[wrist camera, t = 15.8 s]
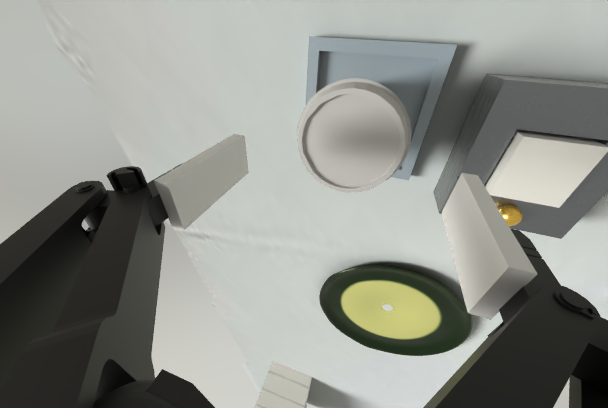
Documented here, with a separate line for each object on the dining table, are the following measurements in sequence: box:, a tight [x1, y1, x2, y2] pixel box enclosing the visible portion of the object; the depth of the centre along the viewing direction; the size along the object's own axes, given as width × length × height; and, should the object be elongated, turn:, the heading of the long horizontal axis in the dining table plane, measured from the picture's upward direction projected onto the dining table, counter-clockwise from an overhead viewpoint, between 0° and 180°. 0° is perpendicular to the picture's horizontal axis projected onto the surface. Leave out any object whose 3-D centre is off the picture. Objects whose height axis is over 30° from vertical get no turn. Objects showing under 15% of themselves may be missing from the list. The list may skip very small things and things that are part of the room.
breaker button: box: [484, 129, 608, 208], centre depth 23 cm, size 6×6×6 cm
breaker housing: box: [434, 74, 608, 239], centre depth 23 cm, size 14×12×7 cm
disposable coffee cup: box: [297, 78, 412, 192], centre depth 23 cm, size 10×10×12 cm
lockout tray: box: [306, 36, 457, 180], centre depth 28 cm, size 14×14×2 cm
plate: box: [319, 266, 472, 356], centre depth 46 cm, size 28×28×2 cm
